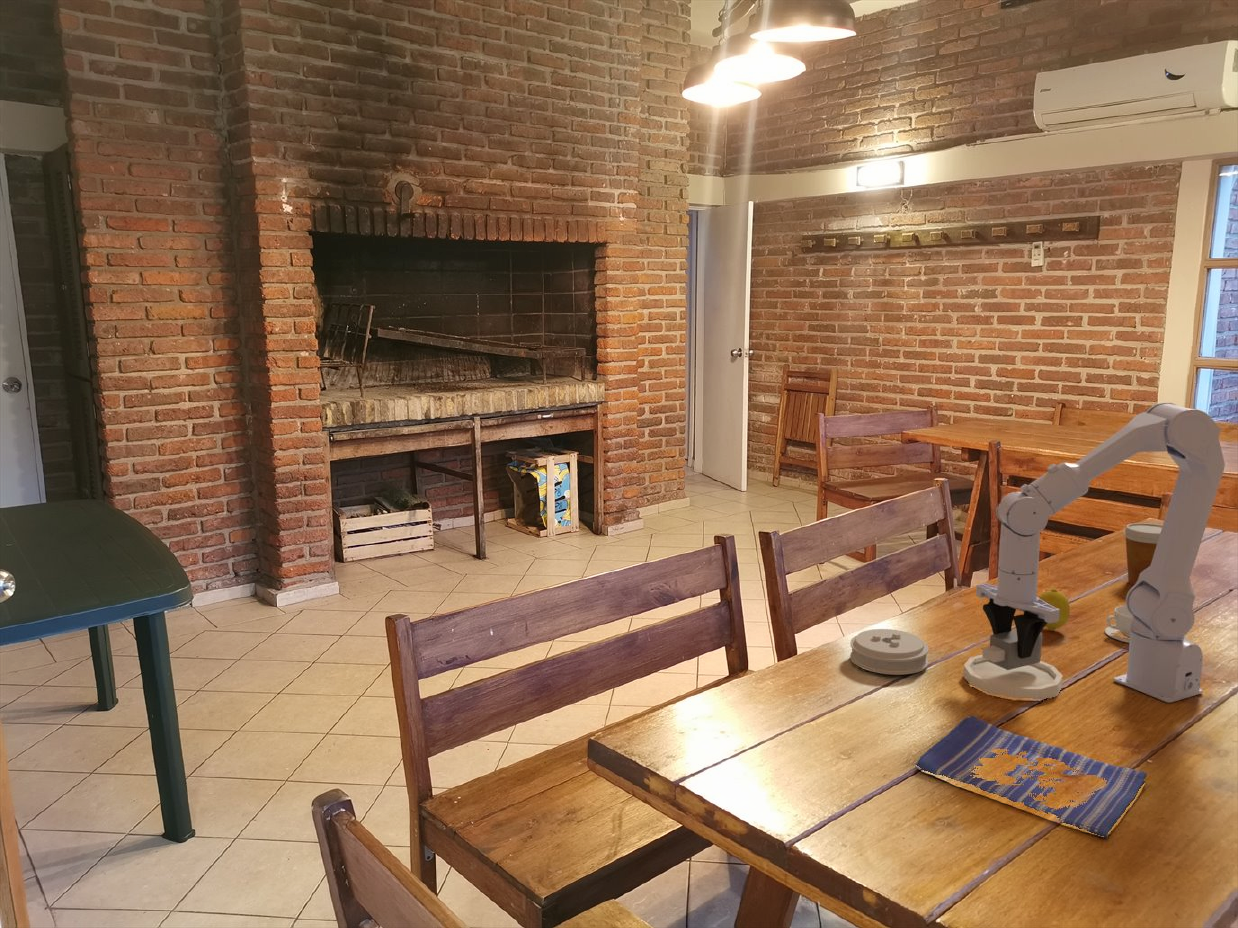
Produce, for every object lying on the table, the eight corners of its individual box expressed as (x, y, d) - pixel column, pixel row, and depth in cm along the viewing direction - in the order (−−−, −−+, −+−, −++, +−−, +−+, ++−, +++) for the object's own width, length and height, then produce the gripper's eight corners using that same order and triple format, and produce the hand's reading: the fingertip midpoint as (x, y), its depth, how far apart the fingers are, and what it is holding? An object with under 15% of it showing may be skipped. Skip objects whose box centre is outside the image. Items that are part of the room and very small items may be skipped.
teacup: (1152, 627, 168) (1154, 603, 167) (1178, 648, 158) (1181, 622, 158) (1095, 626, 169) (1097, 602, 169) (1117, 647, 160) (1119, 621, 159)
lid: (899, 687, 146) (900, 657, 145) (834, 664, 156) (835, 636, 155) (943, 665, 154) (944, 637, 153) (878, 644, 164) (879, 618, 163)
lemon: (1064, 638, 164) (1067, 595, 162) (1031, 632, 167) (1034, 590, 165) (1071, 629, 168) (1074, 587, 166) (1039, 623, 171) (1041, 582, 170)
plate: (1080, 689, 143) (1081, 677, 142) (1014, 708, 137) (1015, 695, 137) (1009, 659, 155) (1009, 647, 155) (946, 674, 150) (946, 663, 149)
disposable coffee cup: (1125, 589, 189) (1129, 532, 187) (1115, 575, 198) (1119, 521, 196) (1177, 592, 186) (1182, 535, 184) (1164, 578, 195) (1169, 523, 193)
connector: (1046, 660, 146) (1047, 634, 145) (997, 672, 142) (999, 645, 141) (1026, 652, 149) (1028, 627, 149) (978, 664, 145) (979, 637, 144)
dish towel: (966, 729, 132) (967, 710, 132) (1149, 786, 116) (1151, 766, 115) (910, 775, 120) (911, 755, 120) (1105, 846, 104) (1107, 824, 103)
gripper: (963, 561, 148) (959, 641, 150) (1037, 586, 135) (1032, 673, 137) (996, 555, 150) (992, 633, 153) (1071, 579, 137) (1066, 664, 140)
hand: (1013, 652), depth 145 cm, fingers closed on connector, 4 cm apart
